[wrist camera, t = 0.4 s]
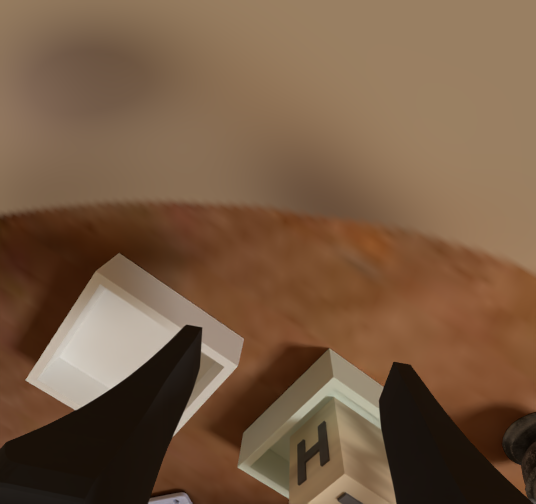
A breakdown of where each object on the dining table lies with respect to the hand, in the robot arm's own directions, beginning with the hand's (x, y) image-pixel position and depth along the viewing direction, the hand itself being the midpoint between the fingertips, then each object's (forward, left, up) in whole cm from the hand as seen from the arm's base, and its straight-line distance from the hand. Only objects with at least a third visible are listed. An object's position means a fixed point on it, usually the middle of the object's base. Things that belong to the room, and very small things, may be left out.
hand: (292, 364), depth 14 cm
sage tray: (-1, -14, -10) cm, 17 cm away
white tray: (-12, -3, -10) cm, 16 cm away
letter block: (-1, -14, -10) cm, 17 cm away
